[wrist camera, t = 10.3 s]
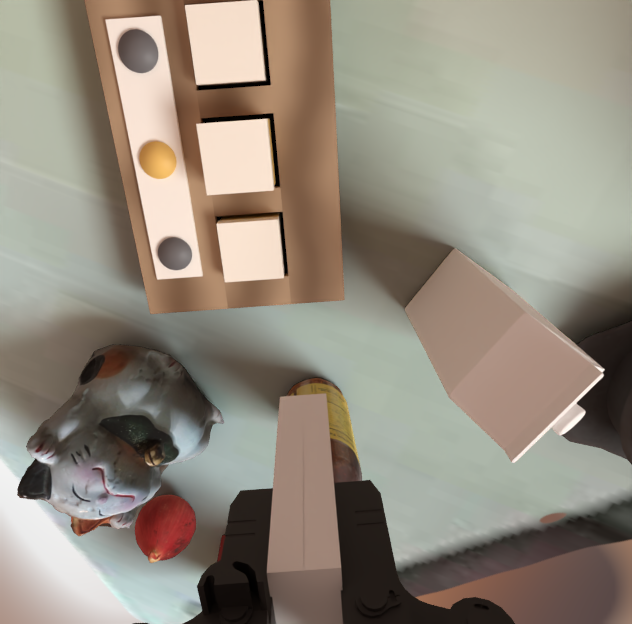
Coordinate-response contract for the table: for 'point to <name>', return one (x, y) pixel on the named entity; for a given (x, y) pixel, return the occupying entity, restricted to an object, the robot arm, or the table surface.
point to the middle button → (237, 156)
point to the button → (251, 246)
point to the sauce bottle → (335, 428)
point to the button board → (292, 151)
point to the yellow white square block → (227, 43)
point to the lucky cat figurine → (117, 437)
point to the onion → (164, 527)
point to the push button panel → (155, 143)
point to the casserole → (608, 394)
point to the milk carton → (500, 356)
